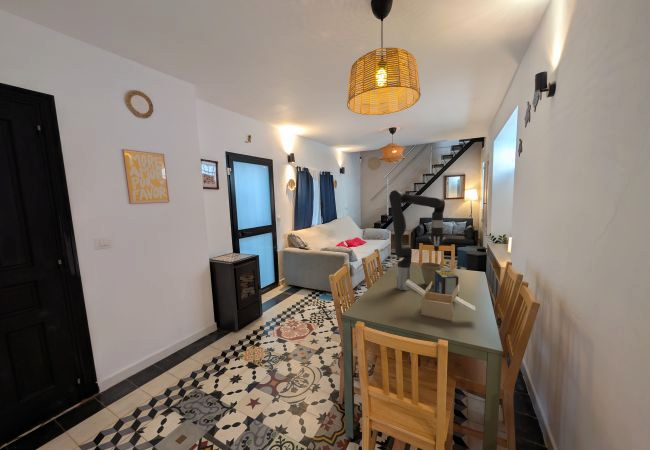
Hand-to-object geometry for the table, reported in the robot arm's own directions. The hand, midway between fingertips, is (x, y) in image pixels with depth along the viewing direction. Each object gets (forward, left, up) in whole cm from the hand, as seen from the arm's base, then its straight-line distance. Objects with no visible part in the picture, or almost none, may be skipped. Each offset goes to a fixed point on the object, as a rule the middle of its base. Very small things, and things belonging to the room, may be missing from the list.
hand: (436, 251), depth 177 cm
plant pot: (-5, +19, -31) cm, 37 cm away
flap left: (-2, -32, -18) cm, 37 cm away
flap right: (+13, -32, -17) cm, 38 cm away
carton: (+4, -32, -31) cm, 45 cm away
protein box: (+7, +1, -31) cm, 32 cm away
